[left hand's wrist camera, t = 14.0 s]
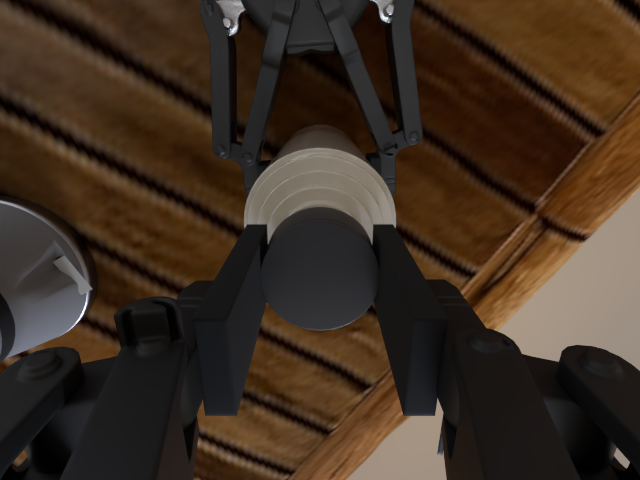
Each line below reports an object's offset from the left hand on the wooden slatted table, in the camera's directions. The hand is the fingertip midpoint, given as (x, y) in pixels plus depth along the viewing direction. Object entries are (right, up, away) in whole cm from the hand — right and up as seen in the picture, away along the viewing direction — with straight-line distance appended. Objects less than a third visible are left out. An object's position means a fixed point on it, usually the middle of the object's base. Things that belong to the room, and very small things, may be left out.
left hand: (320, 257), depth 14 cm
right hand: (0, +1, +15) cm, 16 cm away
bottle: (0, +7, +20) cm, 21 cm away
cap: (0, -1, -2) cm, 2 cm away
